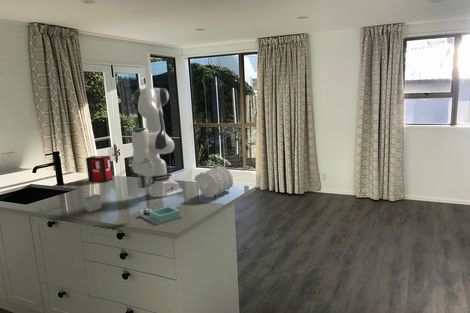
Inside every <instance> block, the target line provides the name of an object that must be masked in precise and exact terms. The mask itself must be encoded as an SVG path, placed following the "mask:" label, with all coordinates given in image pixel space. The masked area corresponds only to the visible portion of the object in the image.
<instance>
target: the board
mask: <svg viewBox="0 0 470 313" xmlns="http://www.w3.org/2000/svg"><path fill="white" fill-rule="evenodd" d="M154 210H155V209H154ZM154 210H153V209H152V208H150V209H149V208H143V209H140V210H139V214H138V216H139V217H140V218H142V219H144V220H145V221H146V220H147V221H148V222H150V223H152V224H154V225H156V226H159V225H161V224H165V223H168V222H173V221H174V220H178V219H181V218H183V217H182V215H181V214H180V216H177V217H174V218H170V219H167V220H163V221H158V220H156V219H154V218H152V217H150V215H144V211H145V212H147V213H148V212H149V213H150V211H154ZM168 213H170V212H168ZM164 214H166V213H164ZM161 215H163V214H161Z"/></svg>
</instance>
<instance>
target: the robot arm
mask: <svg viewBox="0 0 470 313" xmlns="http://www.w3.org/2000/svg"><path fill="white" fill-rule="evenodd" d="M132 99H133V101H134V103H135V104H136V105H137V111H138V113H139V115H140V116H141V117H143V118H144V119H145V123H146V126H145V127H146V128H145V127H137V128H134V129H132V131H131V143H132V144H131V146H132V148H133V152H132V156H130V161H131V168H132V172H133V173H134V174H137V175H138V176H145V180H144V181H145V183H146V184H148V183H149V177H151V186H150V191H149V192H150V193H149V197H152V198H167V197H170V196H171V197H172V196H174V195H176V194H180V193H182V192H183V189H182V188H181V187H180V185H179V183H178V182H177V181H175V180H174V179H172V178H171V177H173V174H172V173H170V172H168V171H167V163H166V161H165V160H164V159H162V158H161V157H160V156H159V155H167V154H170V153H172V152H173V151H174V150H175V142H174V140H173V139H172V138H171V137H170V136H169V135H168V134H167V133H166V128H165V127H166V126H165V120H164V117H163V116H164V114H163V113H164V112H163V111H164V110H163V108H162V107H164V106H165V105H167V104H168V103H169V99H170V94H169V91H168V89H167V88H165V87H164V88H163V87H145V88H138V89H136V90H135V91H133V98H132ZM148 131H149V132H148Z"/></svg>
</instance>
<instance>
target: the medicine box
mask: <svg viewBox="0 0 470 313" xmlns="http://www.w3.org/2000/svg"><path fill="white" fill-rule="evenodd" d="M84 200H85V208H86V212H89V213H92V212H95V211H97V210H100V209H103V207H102V199H101V194H96V193H95V194H92V195H88V196H86V197H84Z"/></svg>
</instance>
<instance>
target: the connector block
mask: <svg viewBox="0 0 470 313" xmlns="http://www.w3.org/2000/svg"><path fill="white" fill-rule="evenodd" d="M136 178H137V179H136V180H137V187H138V188H139V189H145V188H151V177H149V183H148V184H146V183H145V181H144V180H145V176H139V175H138V176H137V177H136Z"/></svg>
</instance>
